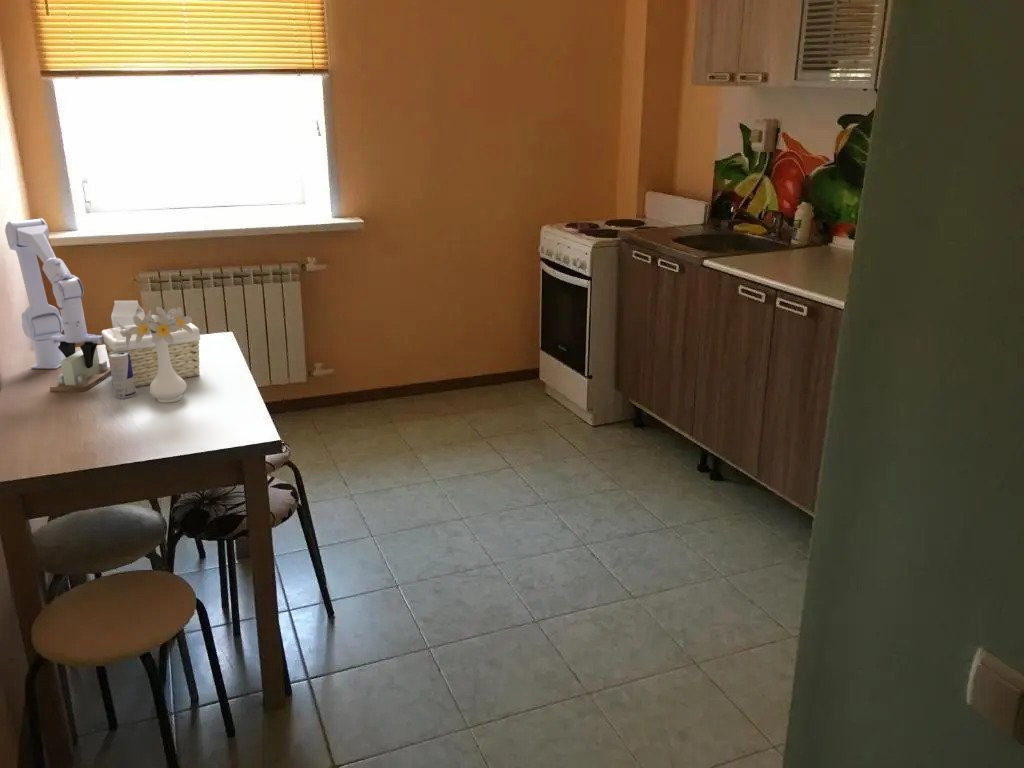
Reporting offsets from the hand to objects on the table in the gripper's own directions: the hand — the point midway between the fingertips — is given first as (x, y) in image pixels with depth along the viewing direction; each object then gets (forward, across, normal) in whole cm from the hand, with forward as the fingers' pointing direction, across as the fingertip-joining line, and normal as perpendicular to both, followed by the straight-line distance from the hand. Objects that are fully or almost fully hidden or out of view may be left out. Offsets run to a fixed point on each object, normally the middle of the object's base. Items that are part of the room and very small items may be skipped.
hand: (82, 367), depth 246 cm
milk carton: (+4, +6, +19) cm, 20 cm away
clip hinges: (+3, 0, 0) cm, 3 cm away
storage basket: (+4, +20, +4) cm, 21 cm away
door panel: (+3, 0, 0) cm, 3 cm away
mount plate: (+4, 0, 0) cm, 4 cm away
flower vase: (+4, +31, -15) cm, 35 cm away
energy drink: (+4, +18, -12) cm, 22 cm away
